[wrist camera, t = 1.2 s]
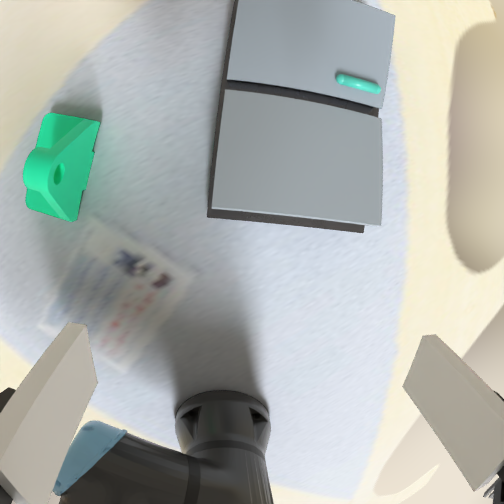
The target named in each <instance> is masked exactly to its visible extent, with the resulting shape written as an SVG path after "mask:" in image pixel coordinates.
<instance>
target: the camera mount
mask: <svg viewBox="0 0 504 504" xmlns="http://www.w3.org/2000/svg"><path fill="white" fill-rule="evenodd" d="M99 126H100V122H98V121H94V120H89V119H84V118H79V117H73V116H67V115H62V114H56V113H48V114H47V115H45V117H44V118H43V121H42V124H41V128H40V132H39V136H38V139H37V144H36V148H35V149H34V150H32V152H31V153H30V154H29V156H28V158H27V160H26V162H25V165H24V170H23V181H24V184H25V186H26V187H27V193H26V200H25V201H26V205H27V207H28V208H29V209H32V210H35V211H38V212H41V213H44V214H48V215H51V216H54V217H57V218H60V219H63V220H67V221H70V222H73V221H75V220H77V216H78V211H79V206H80V201H81V196H82V191H83V190H86V186H87V181H88V177H89V173H90V169H91V165H92V161H93V157H94V153H95V152H92V150H93V146H94V143H95V139H96V136H97V132H98V129H99Z"/></svg>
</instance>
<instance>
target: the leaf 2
mask: <svg viewBox="0 0 504 504" xmlns="http://www.w3.org/2000/svg"><path fill="white" fill-rule="evenodd" d="M382 187H383V151H382V121H381V118H378V117H374V116H370V115H367V114H363V113H359V112H355V111H351V110H347V109H343V108H338V107H334V106H330V105H325V104H320V103H315V102H310V101H305V100H299V99H294V98H288V97H282V96H275V95H268V94H261V93H254V92H245V91H236V90H226V89H225V96H224V103H223V111H222V118H221V126H220V134H219V143H218V151H217V160H216V169H215V179H214V188H213V198H212V209H221V210H233V211H244V212H254V213H264V214H274V215H284V216H293V217H302V218H311V219H319V220H328V221H336V222H344V223H352V224H360V225H367V226H381V218H382Z"/></svg>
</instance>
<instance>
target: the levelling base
mask: <svg viewBox="0 0 504 504" xmlns="http://www.w3.org/2000/svg"><path fill="white" fill-rule="evenodd" d="M238 1H239V0H235V2H234V8H233V14H232V20H231V25H230V32H229V38H228V44H227V50H226V57H225V64H224V71H223V78H222V85H221V92H220V100H219V107H218V115H217V123H216V132H215V140H214V149H213V158H212V168H211V178H210V188H209V199H208V210H207V217H208V218H220V219H231V220H243V221H253V222H264V223H274V224H284V225H294V226H304V227H313V228H322V229H331V230H340V231H349V232H357V233H363V232H364V226H365V225H360V224H352V223H344V222H336V221H328V220H319V219H311V218H302V217H293V216H284V215H274V214H264V213H254V212H244V211H233V210H221V209H212V198H213V188H214V179H215V169H216V160H217V151H218V143H219V134H220V126H221V118H222V111H223V103H224V96H225V89H226V90H236V91H245V92H254V93H261V94H268V95H275V96H282V97H288V98H294V99H299V100H305V101H310V102H315V103H320V104H325V105H330V106H334V107H338V108H343V109H347V110H351V111H355V112H359V113H363V114H367V115H370V116H374V117H378V112H379V108H375V107H372V106H368V105H365V104H361V103H357V102H353V101H350V100H345V99H341V98H337V97H333V96H328V95H324V94H319V93H314V92H309V91H304V90H299V89H293V88H288V87H282V86H275V85H268V84H261V83H254V82H246V81H236V80H227V74H228V66H229V59H230V52H231V46H232V39H233V32H234V26H235V20H236V13H237V7H238Z"/></svg>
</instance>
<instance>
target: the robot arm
mask: <svg viewBox="0 0 504 504" xmlns="http://www.w3.org/2000/svg"><path fill="white" fill-rule="evenodd" d="M97 384H98V381H97V377H96V372H95V368H94V363H93V358H92V353H91V348H90V343H89V337H88V332H87V325H84V324H77V323H71V322H68V324H67V325H66V326H65V327H64V328H63V330H62V331H61V332H60V333H59V335H58V336H57V337H56V338H55V340H54V341H53V342H52V343H51V345H50V346H49V347H48V348H47V350H46V351H45V352H44V353H43V355H42V356H41V357H40V359H39V360H38V361H37V363H36V364H35V365H34V367H33V368H32V369H31V371H30V372H29V373H28V375H27V376H26V377H25V379H24V380H23V381H22V383H21V384H20V386H19V387H18V388H17V390H15V389H12V388H7V389H6V390H4V391H3V392H1V393H0V504H11V503H12V500H14V501H15V502H16V504H48V502H49V499H50V496H51V493H52V491H53V492H54V493H55V494H56V495H57V496H61V498H60V502H59V504H274V503H273V498H272V493H271V488H270V483H269V478H268V472H267V467H266V462H265V452H266V448H267V444H268V440H269V436H270V432H271V424H270V419H269V415H268V412H267V410H266V408H265V407H264V406H263V405H262V404H261V403H260V402H259V401H258V400H256V399H254V398H253V397H251V396H248V395H246V394H243V393H239V392H234V391H210V392H205V393H201V394H198V395H196V396H194V397H192V398H190V399H188V400H187V401H186V402H184V403H183V404H182V405H181V407H180V408H179V410H178V412H177V415H176V422H175V432H176V435H177V438H178V441H179V444H180V447H181V450H182V453H181V452H178V451H175V450H172V449H169V448H166V447H163V446H160V445H157V444H155V443H152V442H149V441H147V440H144V439H141V438H139V437H136V436H134V435H131V434H129V433H127V430H120V429H118V428H115V427H113V426H110V425H108V424H105V423H103V422H100V421H90V422H87V423H86V424H85V425H84V426H83V427H82V428H81V429H80V431H79V432H78V434H77V435H76V437H75V438H74V440H73V441H72V439H73V437H74V435H75V432H76V430H77V428H78V425H79V423H80V421H81V419H82V416H83V414H84V412H85V410H86V407H87V405H88V403H89V401H90V399H91V396H92V394H93V392H94V390H95V388H96V386H97ZM402 387H403V388H404V389H405V391H406V392H407V394H408V395H409V396H410V398H411V399H412V401H413V402H414V403H415V405H416V406H417V408H418V409H419V410H420V412H421V413H422V415H423V416H424V418H425V419H426V420H427V422H428V423H429V425H430V426H431V428H432V429H433V431H434V432H435V434H436V435H437V436H438V438H439V439H440V441H441V442H442V444H443V445H444V447H445V448H446V450H447V451H448V453H449V454H450V456H451V457H452V459H453V460H454V462H455V463H456V465H457V466H458V468H459V469H460V471H461V472H462V474H463V476H464V477H465V478H466V480H467V482H468V483H469V485H470V486H471V488H472V490H473V491H476V490H478V489H480V488H481V487H483V486H485V485H486V484H488V483H489V482H490V480H492V478H493V477H494V476H495V475H496V474H498V476H499V478H498V479H497V480H496V481H495V483H494V484H492V486H490V488H489V489H488V490H487V491H486V492H485V493H484V496H483V497H486V496H487V495H488V494H489V493H490V492H491V491H492V490H494V492H493V493H492V494H491V495H490V496H489V498H493V504H504V399H503V398H502V397H501V396H500V395H499V394H498V393H497V392H495V391H493V390H492V389H491V388H490V387H489V386H488V385H487V384H486V383H485V382H484V381H483V380H482V379H481V378H480V377H479V376H478V375H477V374H476V373H475V372H474V371H473V370H472V369H471V368H470V367H469V366H468V365H467V364H466V363H465V362H464V361H463V360H462V359H461V358H460V357H459V356H458V355H457V354H456V353H455V352H454V351H453V350H451V349H450V348H449V347H448V346H447V345H446V344H445V343H444V342H443V341H442V340H441V339H440V338H439V337H438V336H437V335H436V334H435V335H425V336H422V339H421V342H420V345H419V347H418V350H417V353H416V355H415V358H414V360H413V363H412V365H411V368H410V370H409V372H408V375H407V377H406V379H405V382H404V384H403V386H402ZM71 442H72V443H71ZM70 444H71V445H70Z"/></svg>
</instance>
